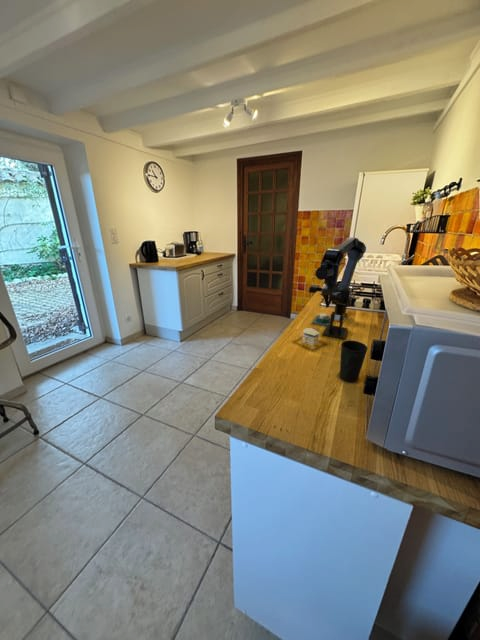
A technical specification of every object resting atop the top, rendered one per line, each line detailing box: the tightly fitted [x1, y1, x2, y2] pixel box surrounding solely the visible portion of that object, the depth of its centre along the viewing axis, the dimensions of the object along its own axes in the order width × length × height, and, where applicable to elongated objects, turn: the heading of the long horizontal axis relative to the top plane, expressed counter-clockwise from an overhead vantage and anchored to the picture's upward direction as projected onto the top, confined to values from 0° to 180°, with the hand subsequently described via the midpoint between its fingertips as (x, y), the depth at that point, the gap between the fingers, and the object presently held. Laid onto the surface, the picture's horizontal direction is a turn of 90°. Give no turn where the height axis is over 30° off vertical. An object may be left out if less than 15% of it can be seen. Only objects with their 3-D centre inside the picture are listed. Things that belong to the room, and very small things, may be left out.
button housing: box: [312, 314, 331, 327], centre depth 129 cm, size 10×8×3 cm
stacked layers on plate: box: [301, 327, 321, 347], centre depth 108 cm, size 10×9×6 cm
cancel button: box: [319, 313, 328, 319], centre depth 129 cm, size 4×4×2 cm
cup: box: [339, 340, 368, 383], centre depth 83 cm, size 8×8×12 cm
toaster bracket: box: [322, 311, 349, 341], centre depth 115 cm, size 12×9×10 cm
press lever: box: [334, 315, 341, 323], centre depth 119 cm, size 13×3×3 cm, turn 152°
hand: (327, 307), depth 126 cm, fingers closed
